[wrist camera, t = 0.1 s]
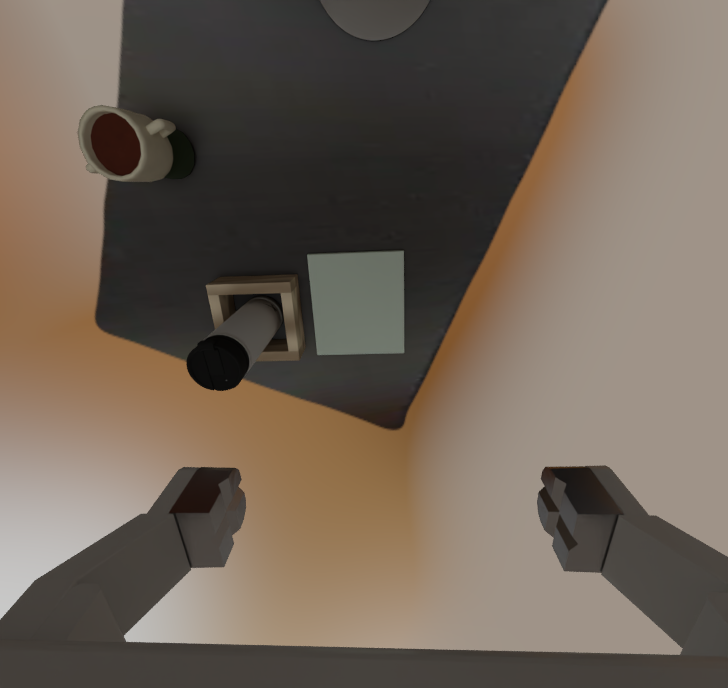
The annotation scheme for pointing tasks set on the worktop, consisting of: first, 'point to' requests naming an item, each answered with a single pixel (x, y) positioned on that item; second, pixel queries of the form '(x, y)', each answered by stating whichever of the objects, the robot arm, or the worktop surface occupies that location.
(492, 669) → the robot arm
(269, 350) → the birch holder
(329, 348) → the sage mat
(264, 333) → the travel mug
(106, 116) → the character mug
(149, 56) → the worktop surface
